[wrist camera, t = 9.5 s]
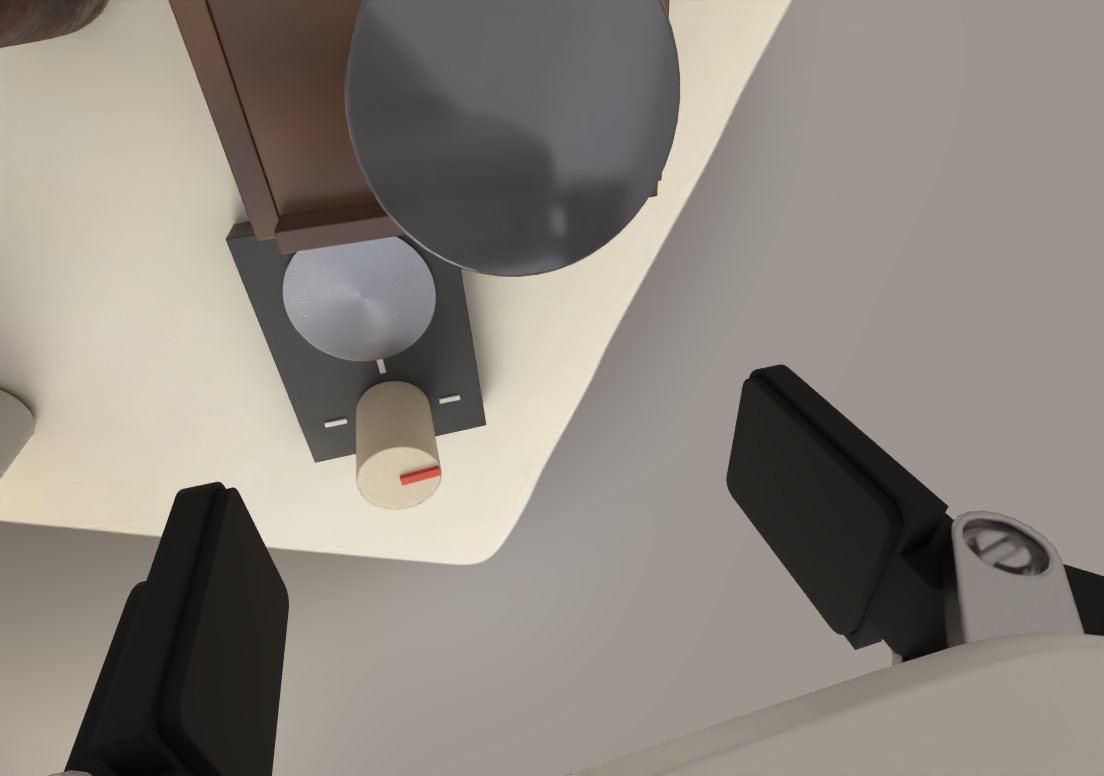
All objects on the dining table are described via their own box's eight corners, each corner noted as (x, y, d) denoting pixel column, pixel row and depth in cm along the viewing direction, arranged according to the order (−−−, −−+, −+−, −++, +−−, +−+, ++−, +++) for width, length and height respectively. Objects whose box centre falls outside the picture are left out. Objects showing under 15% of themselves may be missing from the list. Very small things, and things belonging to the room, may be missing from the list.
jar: (324, -51, 17) (293, -92, 9) (537, -64, 19) (693, -112, 10) (376, 176, 21) (390, 301, 13) (550, 153, 22) (672, 252, 14)
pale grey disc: (260, 237, 31) (259, 239, 31) (421, 213, 33) (421, 215, 33) (309, 370, 36) (308, 373, 36) (446, 344, 38) (447, 346, 38)
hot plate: (233, 224, 33) (224, 240, 31) (445, 193, 35) (450, 206, 33) (323, 456, 43) (321, 480, 41) (483, 421, 45) (489, 442, 43)
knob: (368, 446, 40) (370, 522, 35) (346, 390, 38) (344, 463, 32) (436, 428, 41) (449, 500, 35) (420, 372, 38) (431, 440, 32)
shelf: (218, -74, 26) (101, -130, 14) (560, -92, 29) (703, -152, 17) (290, 159, 32) (250, 259, 20) (569, 124, 35) (681, 192, 23)
